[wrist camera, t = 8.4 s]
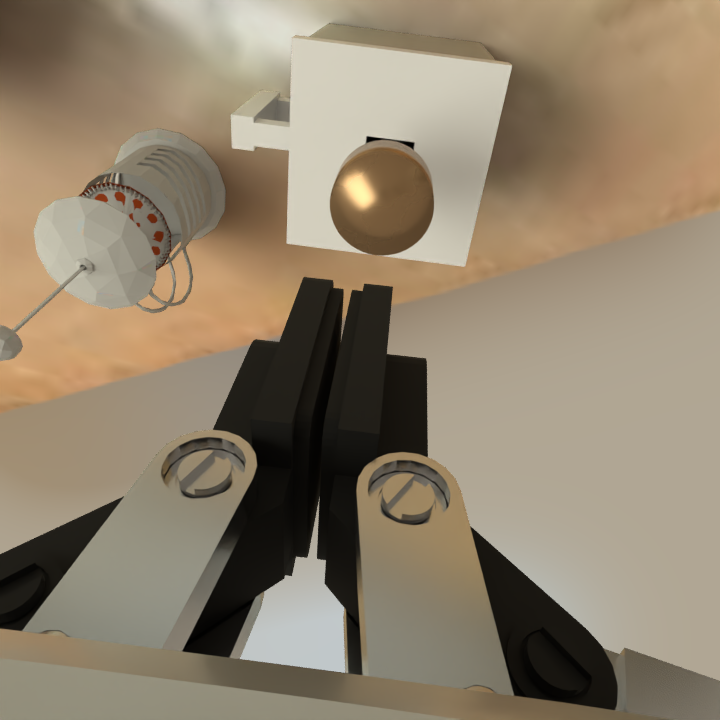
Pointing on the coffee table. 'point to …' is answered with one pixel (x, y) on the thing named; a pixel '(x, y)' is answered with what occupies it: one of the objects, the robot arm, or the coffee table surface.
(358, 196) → the plunger
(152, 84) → the coffee table surface
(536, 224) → the coffee table surface
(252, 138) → the socket block
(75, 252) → the french press
